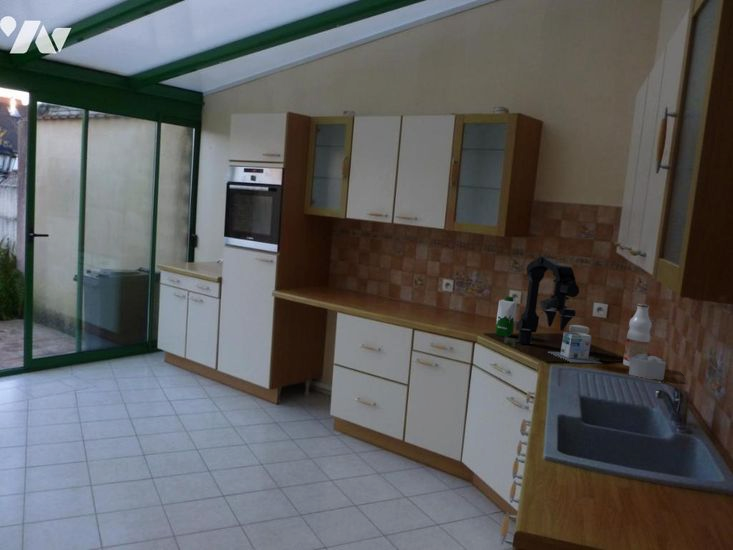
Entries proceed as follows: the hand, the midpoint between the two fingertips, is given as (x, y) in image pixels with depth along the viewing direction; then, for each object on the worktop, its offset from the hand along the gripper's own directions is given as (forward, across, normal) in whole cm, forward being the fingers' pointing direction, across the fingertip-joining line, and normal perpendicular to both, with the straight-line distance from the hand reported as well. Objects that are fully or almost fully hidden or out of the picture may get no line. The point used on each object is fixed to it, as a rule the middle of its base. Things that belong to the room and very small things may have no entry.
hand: (555, 328), depth 272 cm
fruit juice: (+13, +10, +36) cm, 40 cm away
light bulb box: (+13, 0, +12) cm, 17 cm away
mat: (+13, 0, +12) cm, 18 cm away
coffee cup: (+13, -16, +24) cm, 32 cm away
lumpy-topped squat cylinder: (+13, +27, +28) cm, 41 cm away
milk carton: (+13, -46, +1) cm, 48 cm away
